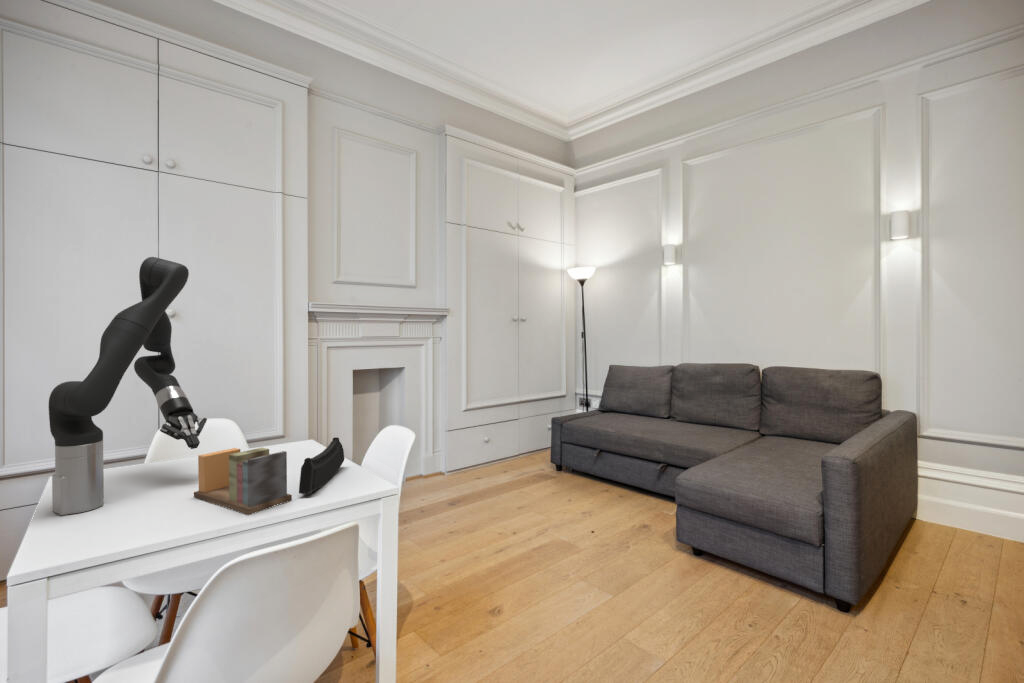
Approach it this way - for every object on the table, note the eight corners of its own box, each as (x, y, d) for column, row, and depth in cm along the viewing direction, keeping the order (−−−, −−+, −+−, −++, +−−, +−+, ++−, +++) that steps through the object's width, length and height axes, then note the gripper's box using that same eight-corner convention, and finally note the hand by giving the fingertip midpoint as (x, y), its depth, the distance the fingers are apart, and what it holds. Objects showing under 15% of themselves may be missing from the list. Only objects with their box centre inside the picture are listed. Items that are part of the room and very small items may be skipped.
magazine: (306, 468, 126) (340, 418, 155) (294, 468, 126) (330, 418, 154) (314, 521, 131) (345, 462, 160) (302, 521, 131) (335, 463, 160)
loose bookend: (204, 492, 128) (204, 456, 128) (198, 491, 130) (198, 455, 130) (240, 482, 137) (240, 449, 137) (234, 481, 138) (234, 447, 138)
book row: (248, 515, 116) (247, 461, 116) (193, 497, 129) (193, 449, 129) (291, 500, 127) (291, 451, 127) (237, 485, 140) (237, 440, 139)
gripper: (153, 398, 139) (175, 443, 133) (200, 393, 150) (222, 434, 145) (145, 414, 142) (166, 459, 136) (192, 408, 153) (213, 449, 147)
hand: (195, 446), depth 140 cm, fingers closed
